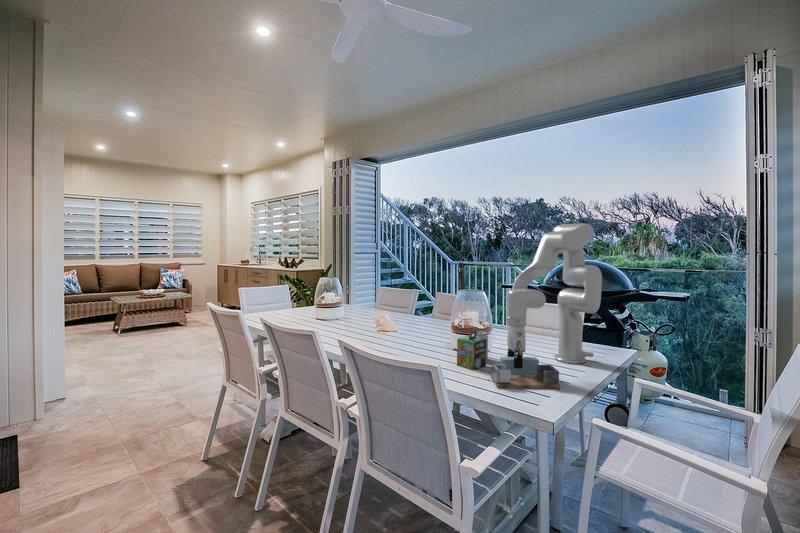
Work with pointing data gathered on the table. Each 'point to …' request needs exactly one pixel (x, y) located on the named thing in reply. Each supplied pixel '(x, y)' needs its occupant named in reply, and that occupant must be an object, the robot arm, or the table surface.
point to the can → (484, 335)
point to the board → (534, 379)
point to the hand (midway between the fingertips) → (514, 364)
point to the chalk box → (471, 351)
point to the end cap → (501, 373)
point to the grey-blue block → (527, 367)
